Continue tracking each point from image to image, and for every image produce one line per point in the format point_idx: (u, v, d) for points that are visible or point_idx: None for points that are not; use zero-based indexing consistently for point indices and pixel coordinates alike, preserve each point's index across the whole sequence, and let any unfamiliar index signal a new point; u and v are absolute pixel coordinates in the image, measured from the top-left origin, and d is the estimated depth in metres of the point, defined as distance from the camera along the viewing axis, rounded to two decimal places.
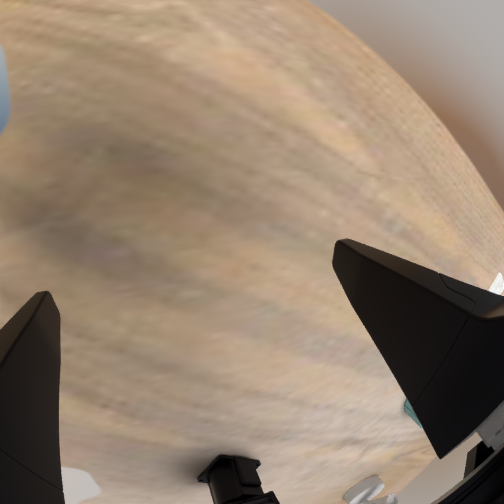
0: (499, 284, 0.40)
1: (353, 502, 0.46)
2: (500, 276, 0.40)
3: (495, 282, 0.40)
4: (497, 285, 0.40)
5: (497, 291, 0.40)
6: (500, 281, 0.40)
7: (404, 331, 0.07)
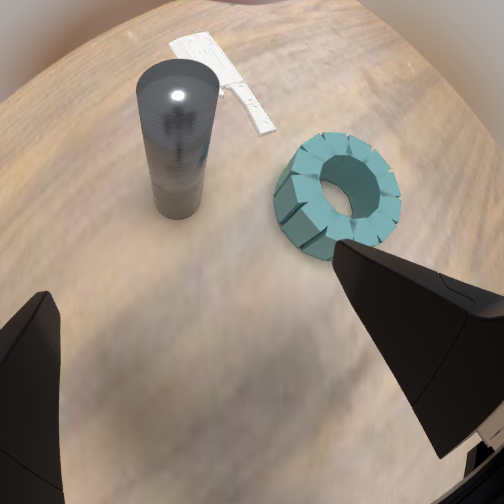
0: (188, 42, 0.27)
1: None
2: (176, 41, 0.27)
3: (178, 51, 0.27)
4: (186, 46, 0.27)
5: (196, 46, 0.27)
6: (184, 41, 0.27)
7: (404, 331, 0.07)
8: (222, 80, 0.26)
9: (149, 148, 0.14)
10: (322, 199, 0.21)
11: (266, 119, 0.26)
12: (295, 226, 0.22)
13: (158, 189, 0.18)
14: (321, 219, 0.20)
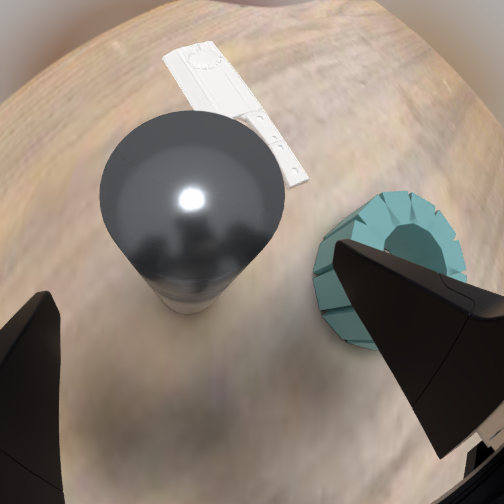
0: (187, 55, 0.21)
1: None
2: (171, 54, 0.21)
3: (175, 67, 0.21)
4: (185, 61, 0.21)
5: (199, 60, 0.21)
6: (182, 53, 0.21)
7: (404, 331, 0.07)
8: (235, 109, 0.20)
9: None
10: None
11: (296, 164, 0.20)
12: (345, 322, 0.16)
13: (162, 300, 0.13)
14: None
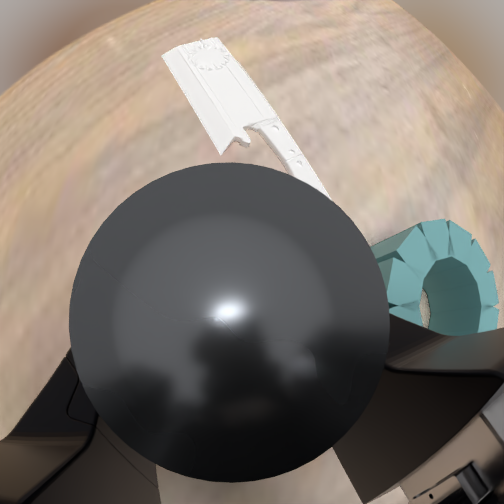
0: (189, 54, 0.18)
1: None
2: (172, 52, 0.18)
3: (176, 67, 0.18)
4: (187, 60, 0.18)
5: (203, 59, 0.18)
6: (184, 51, 0.18)
7: None
8: (246, 117, 0.18)
9: None
10: None
11: (317, 184, 0.18)
12: None
13: None
14: None
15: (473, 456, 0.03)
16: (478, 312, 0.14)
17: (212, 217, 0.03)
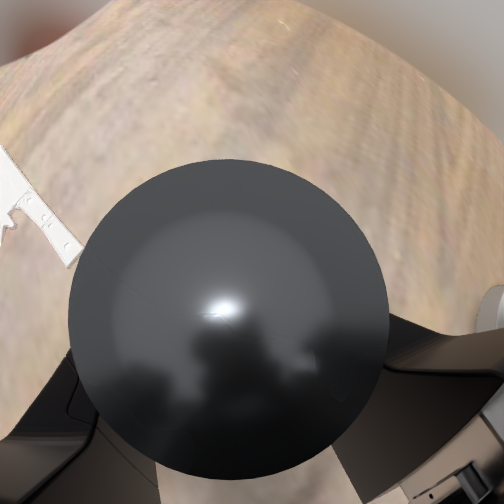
0: None
1: None
2: None
3: None
4: None
5: None
6: None
7: None
8: (9, 202, 0.16)
9: None
10: None
11: (68, 238, 0.17)
12: None
13: None
14: None
15: (473, 456, 0.03)
16: None
17: (211, 213, 0.03)
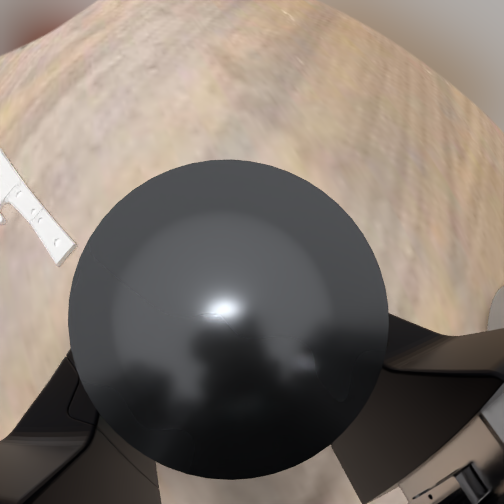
0: None
1: None
2: None
3: None
4: None
5: None
6: None
7: None
8: None
9: None
10: None
11: (58, 233, 0.15)
12: None
13: None
14: None
15: (472, 457, 0.03)
16: None
17: (211, 214, 0.03)
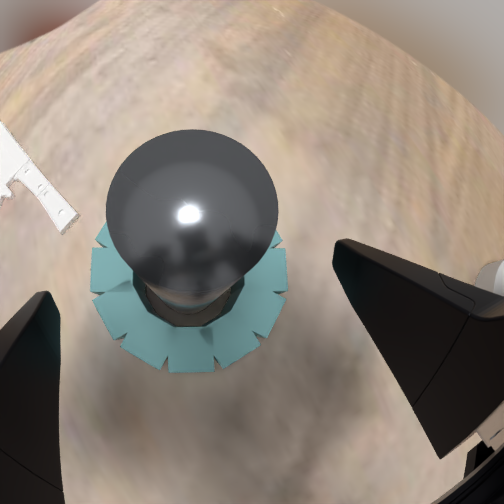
0: None
1: None
2: None
3: None
4: None
5: None
6: None
7: (404, 331, 0.07)
8: (8, 173, 0.16)
9: (147, 285, 0.09)
10: (146, 318, 0.13)
11: (62, 205, 0.17)
12: None
13: (163, 301, 0.13)
14: (154, 351, 0.13)
15: None
16: None
17: (181, 154, 0.06)
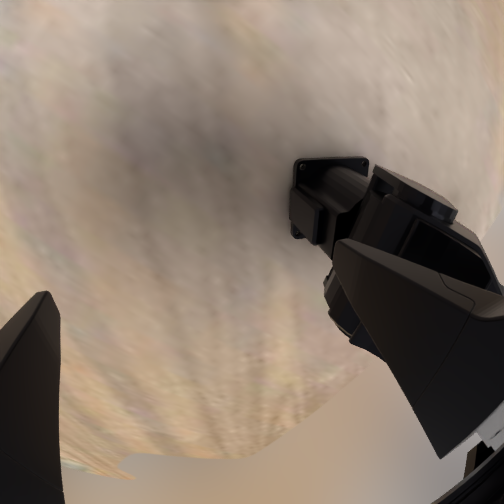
0: None
1: None
2: None
3: None
4: None
5: None
6: None
7: (404, 331, 0.07)
8: None
9: None
10: None
11: None
12: None
13: None
14: None
15: None
16: None
17: None
